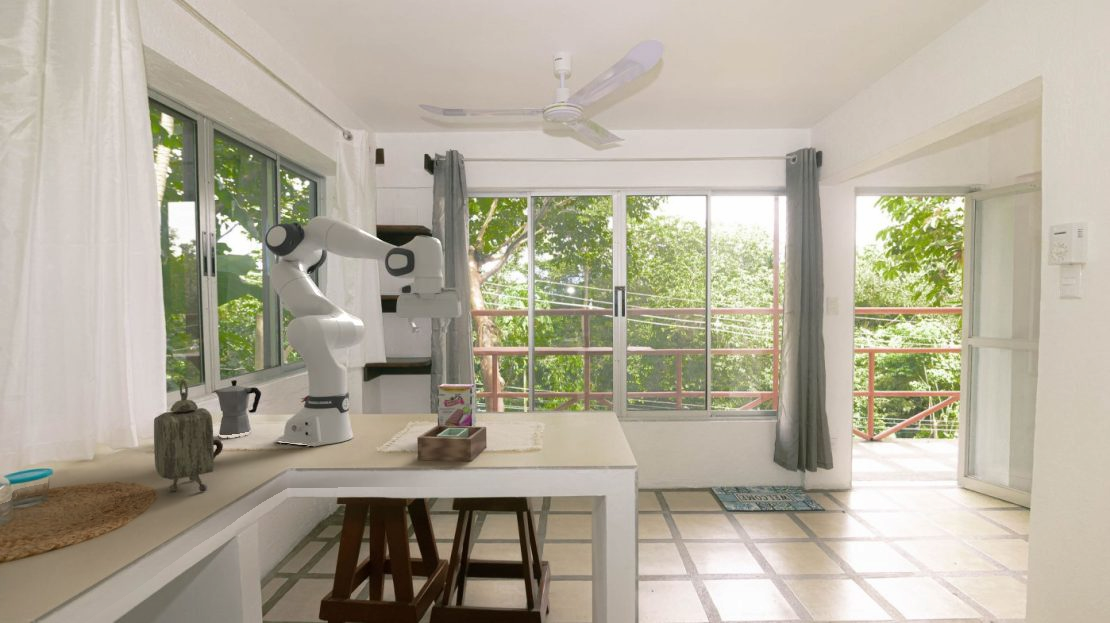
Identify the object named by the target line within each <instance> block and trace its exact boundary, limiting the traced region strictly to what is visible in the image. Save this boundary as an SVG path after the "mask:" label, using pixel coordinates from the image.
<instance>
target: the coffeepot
mask: <svg viewBox="0 0 1110 623" xmlns="http://www.w3.org/2000/svg"><path fill="white" fill-rule="evenodd" d="M230 381H231V386H227V387H223V388H220V389H219V388H218V389H216V390H213V392H214V393H215V394H216V395H217V397H218V403H219V408H220V411H221V412H222V416H221V420H220V427H219V432H218V435H219V434H220V435H232V434H240V433H245V432H249V431H250V430H251V431H252V429H251V425H250V420H249V415H248V414H247V409H248V408H249V401H250V395H251V394H254V400H253V403H252V408H251V409H248V412H249V413H250V414H253V413H256V412H257V409H258V407H259V403H260V399H261V396H262V392H261V391H260V389H259V388H258V387H247V386H242V385H241V386H240V385H237V383H238V381H237V380H236V379H232V380H230Z"/></svg>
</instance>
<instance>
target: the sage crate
mask: <svg viewBox="0 0 1110 623" xmlns="http://www.w3.org/2000/svg"><path fill="white" fill-rule="evenodd" d="M437 437H453V438H469V437H468V428H448V429H446V430H444V431H443V432H441V433H440V434H438V435H437Z"/></svg>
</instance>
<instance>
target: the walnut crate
mask: <svg viewBox="0 0 1110 623" xmlns="http://www.w3.org/2000/svg"><path fill="white" fill-rule="evenodd" d="M448 428H468V437H469V438H453V437H437V435H438V434H440V433H441V432H443V431H444V430H446V429H448ZM487 444H488V443H487V426H476V427H474V426H438V424H437V425H436V426H433V427H432V428H431V429H429V430H427V431H426V432H424V433H422V434H420V435H419V436H417V460H424V461H447V462H449V461H450V462H469V463H470V462H472V461H473V460H475V459H476V458H477V457H478V456H479V455H480V454H481V453H482V452H483V451H484V450H485V449H486V448H487Z"/></svg>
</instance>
